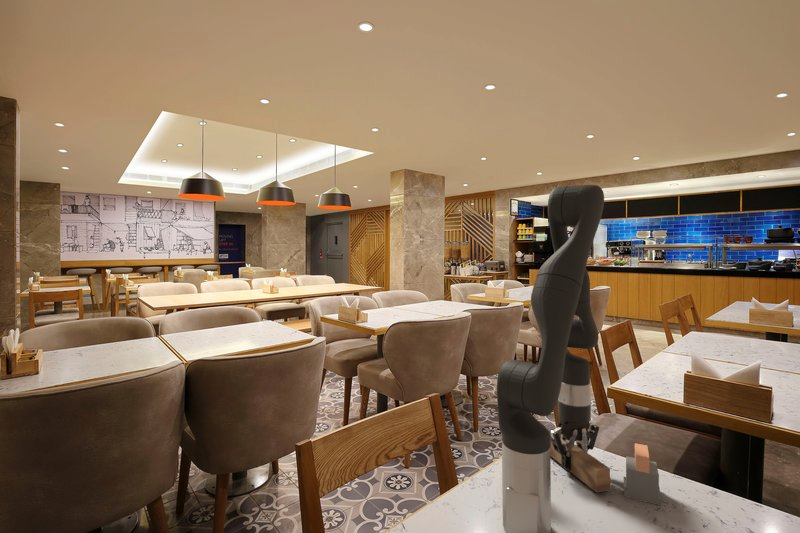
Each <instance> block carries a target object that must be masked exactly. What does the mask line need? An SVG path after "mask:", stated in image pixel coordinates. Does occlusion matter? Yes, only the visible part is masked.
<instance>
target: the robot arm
mask: <svg viewBox="0 0 800 533" xmlns="http://www.w3.org/2000/svg"><path fill="white" fill-rule="evenodd" d="M547 199H548V200H547V216H548V224H549V229H550V230H549V231H550V235H551V236H550V237H551V242H552V248H553V252H554V253H553V254H552V255H551V256H550V257H548V259H547V260H546V261H545V262H544V263H543V264H542V265H541V266H540V268H539V269H538V271H537V273H536V277H535V281H534V283H533V287H532V292H531V295H530V305H531V310H532V312H533V315H534V317H535V321H536V323H537V326H538V329H539V332H540V337H541V349H540V350H541V351H540V357H539V360H538V364H536V363H533V362H529V361H523V360H517V359H509V360H506V361H505V362H504V363H503V364H502V365H501V367H500V369H499V372H498V374H497V380H496V403H497V415H498V416H497V417H498V428H499V431H500V433H501V434H502V435H501V434H500V435H501V463H502V464H501V480H502V482H501V483H502V487H501V488H502V489H501V491H502V494H501V495H502V503H501V504H502V526H503V529H504V530H505V533H552V504H551V503H552V499H551V498H552V496H551V495H552V487H551V484H552V482H551V481H552V480H551V478H552V477H551V476H552V474H551V470H552V469H551V466H552V465H551V464H552V463H551V460H552V459H551V458H552V457H551V442H552V445H553V447H554V450H555V451H557V452H558V453H559V454H561V464H562V465H561V464H560V465H561V467H562V468H563V469H564V470H565V471H567V472H570V470H571V456H570V455H571V450H572V448H573V447H574V444H575V443H576V444H575V445H576V446H578V447H579V448H581V449H582V450H584V451H585V452H587V453H589V450H591V451H592V450H594V448H595V444H596V441H597V437H598V434H599V431H600V427H599V426H598V425H596V424H594V423H593V422H590V421H591V420H592V415H591V414H592V413H591V412H592V407H591V406H592V392H591V377H590V375H591V364H590V362H589V360H588V359H586V358H585V357H581V356H579V355H575V354H574V353H572V352H571V351H569V349H570V348H572V349H582V350H590V349H591V350H592V349H593V348H594V347H596V346H597V344H598V342H599V339H600V338H599V332H598V328H597V325H596V322H595V318H594V317H593V312H592V309H591V282H590V281H591V280H590V275H589V272H588V270H587V263H588V260H589V255H590V252H591V249H592V246H593V244H594V239H595V237H596V234H597V231H598V228H599V224H600V222H601V219H602V216H603V212H604V207H605V193H604V190H603V189H602V187H601V186H599V185H597V184H580V185H578V184H577V185H563V186H556V187H554V188H553V189H552V190H551V191H550V194H549V195H548V198H547ZM568 227H574V229H573V231H572V233H571V235H570V236H569V233H568V232H569V231H568ZM575 316H577V317H578V319H575ZM568 348H569V349H568ZM556 407H557V416H558V418H559V419H558V420H559V422H558V424H557V427H556V428H555V429H552V428H550V429H548V427H546V426H545V425H544V424H543V423H542V422H540V421H539V420H538V419H537V418H536V417H535V416H534V415H537V416H540V417H547V416H549V415H551V414H552V413H553V411H554V410H555V408H556ZM566 439H567V440H568V441H567V440H566ZM566 446H567V448H566Z"/></svg>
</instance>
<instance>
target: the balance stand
mask: <svg viewBox="0 0 800 533" xmlns="http://www.w3.org/2000/svg"><path fill="white" fill-rule="evenodd" d="M623 497H624V498H628V499H632V500H637V501H641V502H645V503H649V504H652V505H653V504H654V505H658V506H662V505H663V504H662V501H663V500H662V495H661V490H660V474H659V470H658V465H657V461H651V460H650V454H649V448H648V445H647V444H642V443H641V444H640V443H636V442H635V443H634V457H631V456H625V476H623Z"/></svg>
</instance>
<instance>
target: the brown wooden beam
mask: <svg viewBox="0 0 800 533" xmlns="http://www.w3.org/2000/svg"><path fill="white" fill-rule="evenodd" d="M566 440H567V439H566ZM567 441H568V440H567ZM566 448H567V446H566ZM570 456H571V470H570V471H569V472H570V473H571V474H573V476H575V477H576V478H578V479H579V480H580V481H581V482H583V483H584V485H586V486H588V487H589V488H590V489H592V490H593V491H594V492H595V493H603V492H608V491H611V468H610V467H609V466H607V465H605V464H604V463H603V462H601V461H600V460H598V459H597V458H595V457H594V456H593V455H591V454H589V452H585V451H584V450H582V449H581V448H579V447H578V446H577V445H576V444H575V443H574V447H573V448H572V450H571V455H570ZM551 458H553V459H554V460H555V461H556V462H558V463H559V464H560V465H561V466H562V464H561V454H559V453H558V452H557V451H555V450H554V447H553V445H552V442H551Z"/></svg>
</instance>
